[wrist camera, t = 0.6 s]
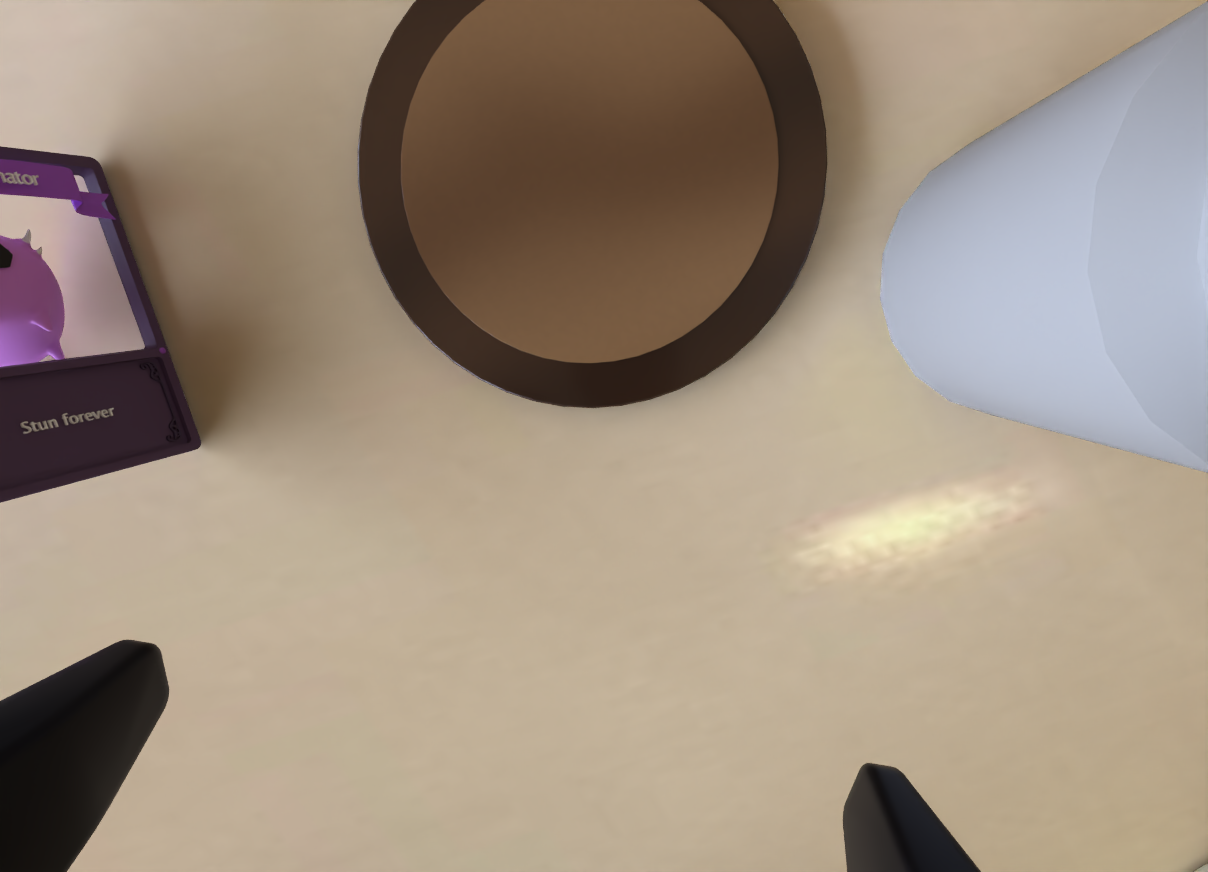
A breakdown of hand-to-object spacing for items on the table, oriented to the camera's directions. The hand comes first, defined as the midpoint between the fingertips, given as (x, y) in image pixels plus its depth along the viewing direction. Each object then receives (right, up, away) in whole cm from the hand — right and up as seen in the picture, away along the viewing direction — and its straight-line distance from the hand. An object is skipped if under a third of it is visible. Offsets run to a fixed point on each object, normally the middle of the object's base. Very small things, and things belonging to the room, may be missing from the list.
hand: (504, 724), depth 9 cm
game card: (-15, +7, +13) cm, 21 cm away
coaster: (+1, +11, +11) cm, 16 cm away
